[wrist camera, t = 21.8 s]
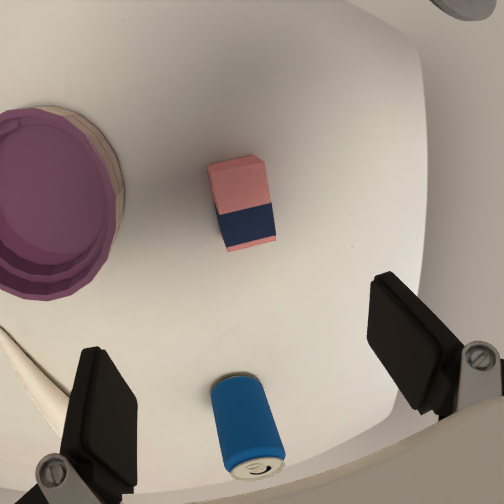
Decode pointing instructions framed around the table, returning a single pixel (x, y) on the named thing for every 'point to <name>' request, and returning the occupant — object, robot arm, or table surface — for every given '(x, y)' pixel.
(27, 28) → the table surface
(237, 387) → the beverage can
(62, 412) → the long cone
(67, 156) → the bowl
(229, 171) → the eraser
